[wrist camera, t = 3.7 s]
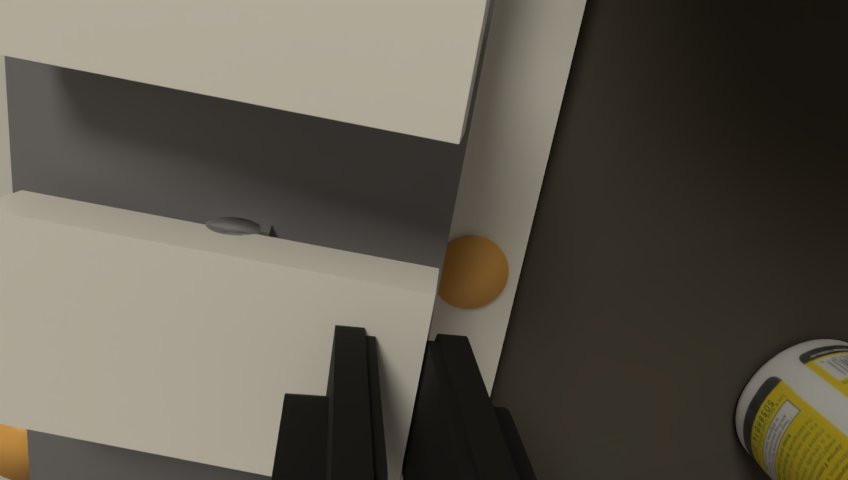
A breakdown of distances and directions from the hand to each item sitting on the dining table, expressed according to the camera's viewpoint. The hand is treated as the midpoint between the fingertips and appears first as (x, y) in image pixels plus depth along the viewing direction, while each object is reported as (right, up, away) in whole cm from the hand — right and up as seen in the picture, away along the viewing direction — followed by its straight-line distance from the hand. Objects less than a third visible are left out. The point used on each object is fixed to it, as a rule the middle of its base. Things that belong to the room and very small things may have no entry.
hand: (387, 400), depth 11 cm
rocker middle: (-3, +1, +1) cm, 4 cm away
